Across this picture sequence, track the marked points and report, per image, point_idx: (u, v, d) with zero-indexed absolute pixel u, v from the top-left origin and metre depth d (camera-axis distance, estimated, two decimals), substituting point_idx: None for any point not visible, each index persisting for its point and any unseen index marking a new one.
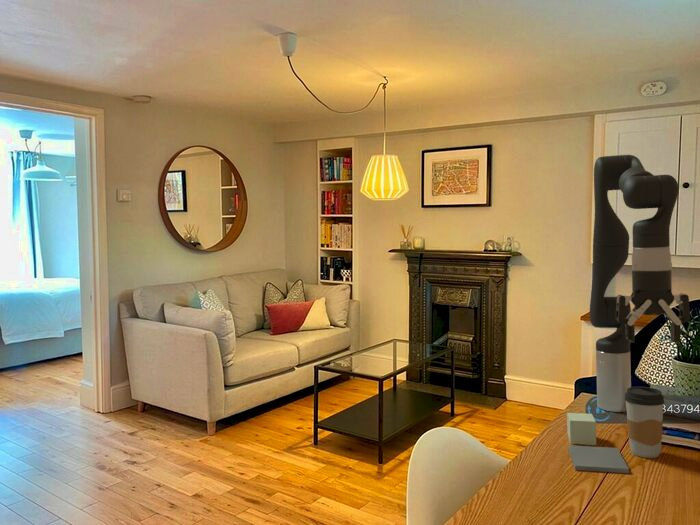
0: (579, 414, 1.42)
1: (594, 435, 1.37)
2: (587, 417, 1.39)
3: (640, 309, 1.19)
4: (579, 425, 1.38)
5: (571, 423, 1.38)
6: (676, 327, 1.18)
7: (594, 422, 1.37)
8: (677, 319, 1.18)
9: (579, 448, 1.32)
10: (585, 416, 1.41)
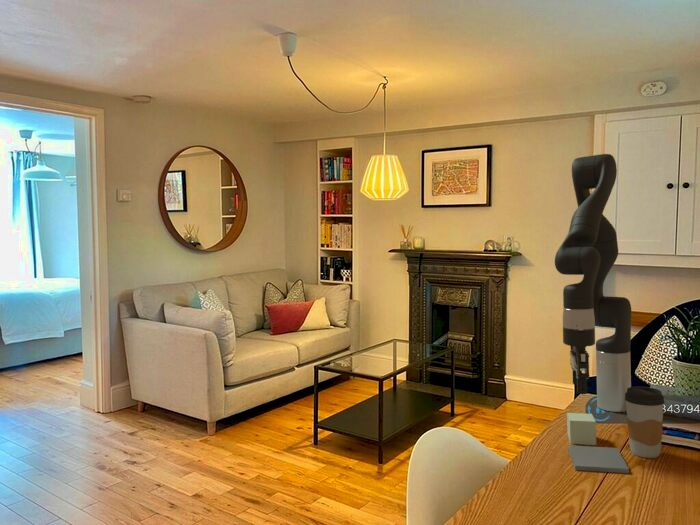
0: (579, 414, 1.42)
1: (594, 435, 1.37)
2: (587, 417, 1.39)
3: None
4: (579, 425, 1.38)
5: (571, 423, 1.38)
6: (581, 372, 1.44)
7: (594, 422, 1.37)
8: None
9: (579, 448, 1.32)
10: (585, 416, 1.41)
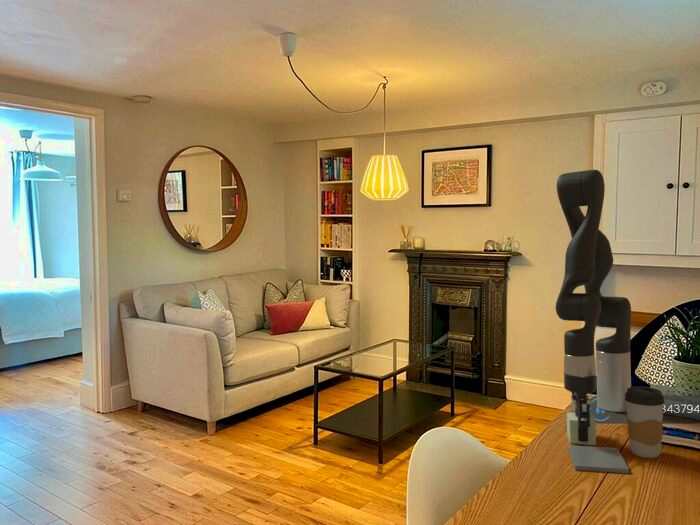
0: None
1: (594, 435, 1.37)
2: None
3: None
4: None
5: (571, 423, 1.38)
6: None
7: (594, 422, 1.37)
8: None
9: (579, 448, 1.32)
10: None
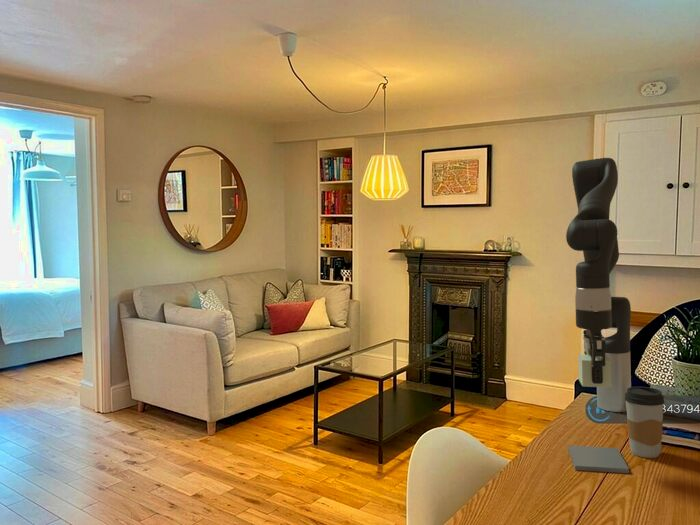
0: None
1: (609, 376, 1.23)
2: None
3: None
4: None
5: (583, 363, 1.24)
6: None
7: (609, 361, 1.23)
8: None
9: (579, 448, 1.32)
10: (598, 357, 1.27)
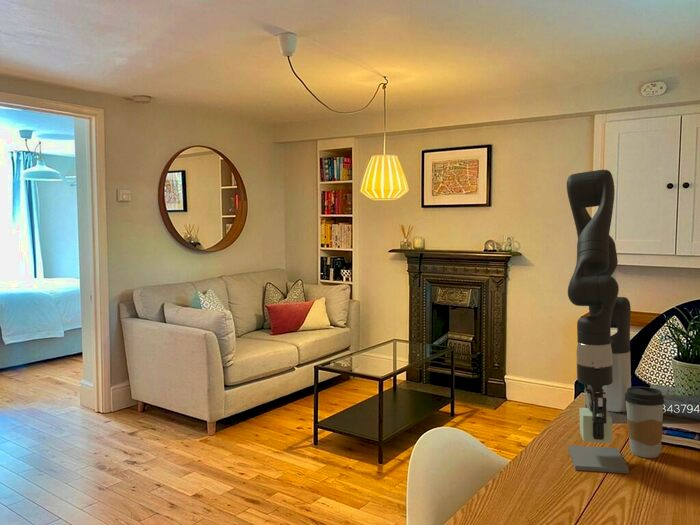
0: None
1: (610, 432, 1.24)
2: None
3: None
4: None
5: (584, 419, 1.25)
6: None
7: (610, 417, 1.23)
8: None
9: (579, 448, 1.32)
10: None
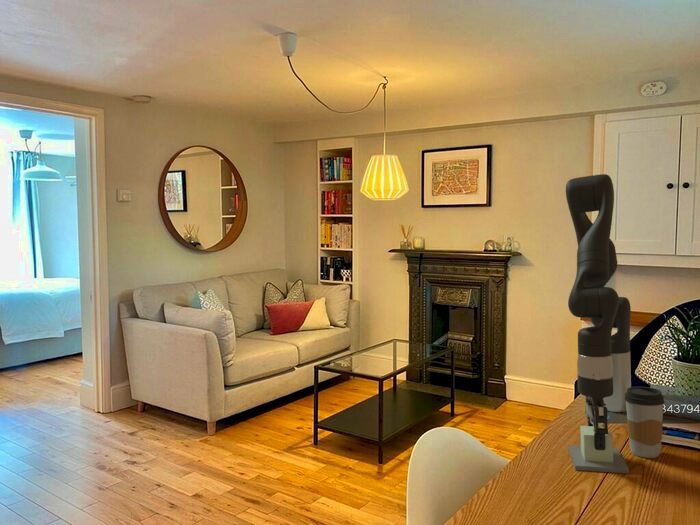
0: None
1: (611, 451, 1.24)
2: None
3: None
4: None
5: (585, 438, 1.25)
6: None
7: (611, 437, 1.24)
8: None
9: (579, 448, 1.32)
10: None
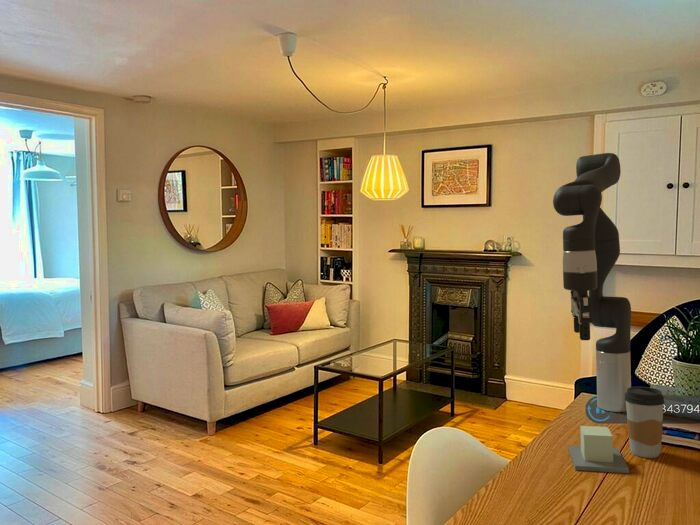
0: (593, 427, 1.29)
1: (611, 451, 1.24)
2: (602, 431, 1.27)
3: None
4: (594, 440, 1.25)
5: (585, 438, 1.25)
6: None
7: (611, 437, 1.24)
8: None
9: (579, 448, 1.32)
10: (600, 430, 1.28)
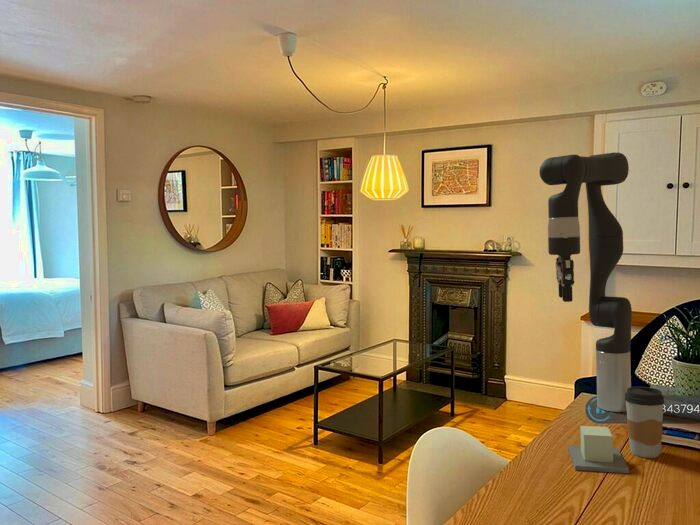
0: (593, 427, 1.29)
1: (611, 451, 1.24)
2: (602, 431, 1.27)
3: None
4: (594, 440, 1.25)
5: (585, 438, 1.25)
6: None
7: (611, 437, 1.24)
8: None
9: (579, 448, 1.32)
10: (600, 430, 1.28)
